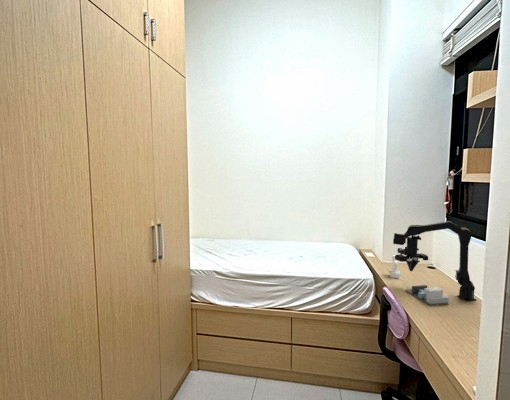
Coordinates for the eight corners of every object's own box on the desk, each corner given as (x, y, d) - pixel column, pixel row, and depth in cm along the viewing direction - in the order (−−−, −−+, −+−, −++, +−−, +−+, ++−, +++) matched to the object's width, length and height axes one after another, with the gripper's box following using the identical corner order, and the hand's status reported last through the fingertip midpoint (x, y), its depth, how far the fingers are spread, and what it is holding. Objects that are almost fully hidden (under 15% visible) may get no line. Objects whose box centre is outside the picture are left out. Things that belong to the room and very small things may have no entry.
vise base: (421, 289, 174) (421, 284, 173) (448, 304, 155) (448, 297, 154) (405, 291, 172) (405, 285, 172) (430, 305, 153) (430, 299, 152)
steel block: (436, 297, 161) (437, 287, 160) (442, 300, 157) (442, 290, 156) (423, 298, 159) (424, 288, 159) (429, 301, 155) (429, 291, 155)
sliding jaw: (426, 290, 170) (426, 284, 169) (438, 296, 161) (439, 290, 161) (410, 291, 168) (410, 286, 168) (421, 298, 159) (421, 292, 159)
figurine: (389, 278, 193) (390, 256, 191) (387, 274, 202) (388, 253, 200) (401, 279, 190) (402, 257, 189) (398, 275, 199) (399, 254, 198)
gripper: (416, 242, 183) (415, 266, 184) (389, 243, 180) (388, 267, 181) (429, 246, 172) (428, 271, 173) (401, 248, 169) (400, 273, 170)
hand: (410, 271), depth 175 cm, fingers closed
